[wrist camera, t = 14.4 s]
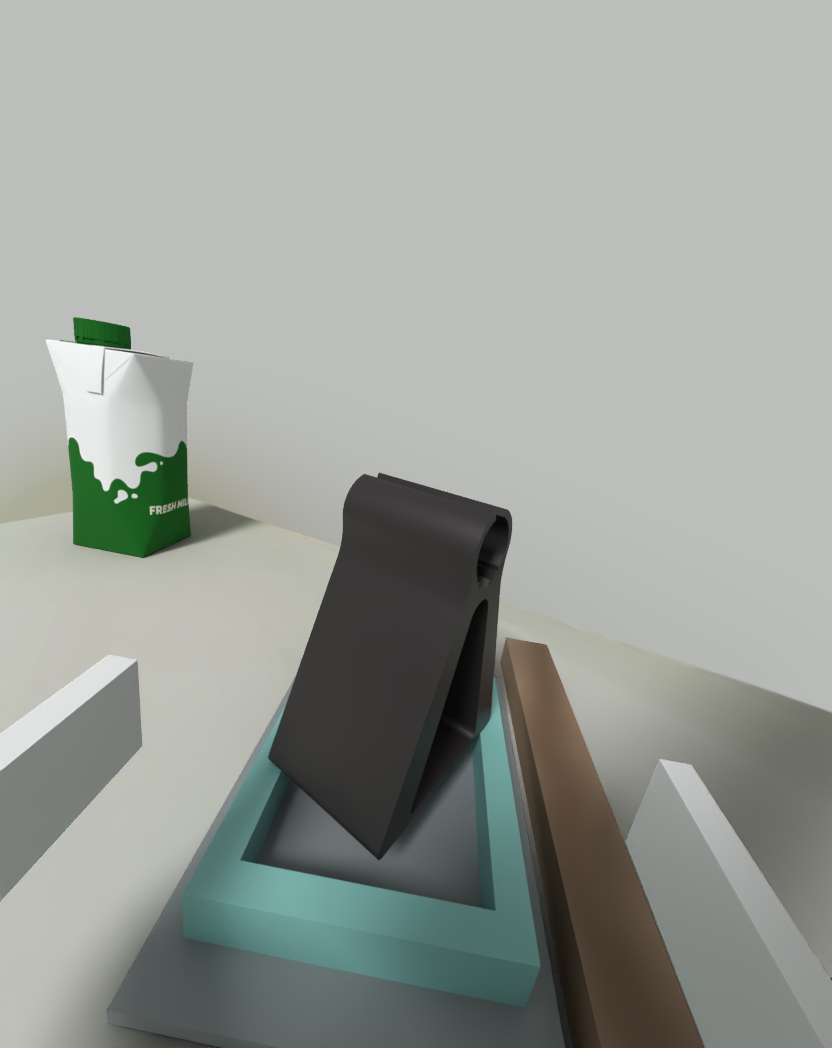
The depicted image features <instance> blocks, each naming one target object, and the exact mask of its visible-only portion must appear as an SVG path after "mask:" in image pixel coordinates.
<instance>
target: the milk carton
mask: <svg viewBox="0 0 832 1048" xmlns="http://www.w3.org/2000/svg"><path fill="white" fill-rule="evenodd" d="M73 320H74V334H75V341H76V342H69V341H62V340H60V341H57V340H48V339H47V340H46V343H47V346H48V349H49V352H50V355H51V358H52V361H53V365H54V368H55V371H56V374H57V377H58V380H59V383H60V386H61V389H62V394H63V399H64V408H65V418H66V428H67V438H68V448H69V458H70V469H71V478H72V490H73V544H76V545H81V546H86V547H91V548H97V549H102V550H107V551H112V552H117V553H122V554H127V555H133V556H138V557H145V556H147V555H149V554H151V553H154V552H156V551H158V550H160V549H162V548H164V547H166V546H169V545H171V544H173V543H175V542H177V541H179V540H181V539H183V538H186V537H188V536H190V535H191V532H190V519H189V506H188V484H187V416H186V415H187V413H186V410H187V408H186V407H187V399H188V392H189V386H190V380H191V373H192V367H193V363H192V362H187V361H180V360H174V359H170V358H169V357H166V356H161V355H157V354H152V353H147V352H142V351H136V350H131V336H130V328H129V327H126V326H121V325H117V324H111V323H106V322H101V321H96V320H90V319H83V318H73Z"/></svg>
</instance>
